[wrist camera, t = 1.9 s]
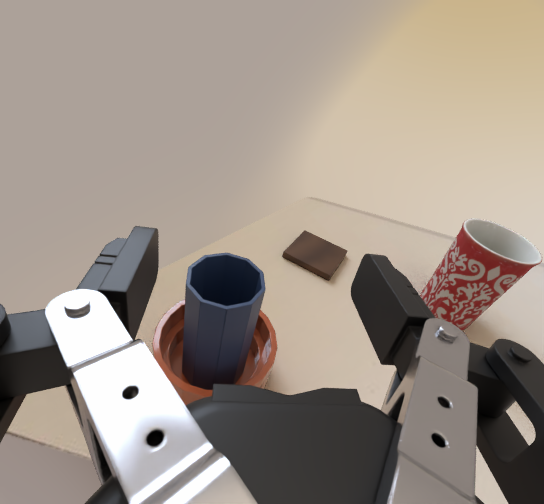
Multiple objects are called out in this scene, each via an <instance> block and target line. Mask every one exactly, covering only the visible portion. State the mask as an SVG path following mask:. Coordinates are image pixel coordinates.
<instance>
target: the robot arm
mask: <svg viewBox="0 0 544 504" xmlns="http://www.w3.org/2000/svg"><path fill="white" fill-rule="evenodd" d="M157 274H158V229H156V228H149V227H140V226H135V227H134V229H133V230H132V232H131V233H130V235H129V237H128V238H127V239H124V238H117V239H115V240H113V241H112V242H110V243H108V244H107V245H106V246H105V247H104V249H103V250H102V252H101V253H100V256H98V258H97V259H96V261H95V263H94V264H93V265H92V266H91V268H90V269H89V271H88V272H87V274H86V275H85V277H84V278H83V280H82V281H81V283H80V284H79V286H78V287H77V288H76V290H73V291H69V292H66V293H64V294H61V295H59V296H57V297H56V298H54V299H53V300H52V301H51V302H50V303H49V304H48V306H47V308H46V309H43V310H37V311H30V312H23V313H16V314H8V315H7V314H6V311H5V308H4V307H3V306H2V305H1V304H0V442H1V441H2V439H3V437H4V435H5V433H6V431H7V430H8V428H9V426H10V424H11V422H12V420H13V418H14V417H15V415H16V413H17V411H18V409H19V407H20V406H21V404H22V402H23V400H24V398H25V396H26V394H29V393H33V392H38V391H42V390H46V389H51V388H55V387H60V386H65V388H66V391H67V393H68V396H69V399H70V401H71V404H72V406H73V409H74V411H75V414H76V416H77V419H78V421H79V424H80V427H81V429H82V432H83V434H84V437H85V440H86V443H87V446H88V449H89V452H90V455H91V458H92V461H93V464H94V466H95V469H96V472H97V474H98V477H99V480H100V482H101V485H102V486H101V487H100V488H99V489H98V490H97V491H96V492H95V493H94V494H93V495H92V496H91V497H90V498H89V499H88V501H87V502H86V503H85V504H484V503H483V502H482V501H481V500H480V499H479V498H478V497H477V496H476V495H475V470H476V445H477V447H478V449H479V450H480V452H481V454H482V456H483V458H484V460H485V461H486V463H487V465H488V467H489V469H490V471H491V472H492V474H493V476H494V478H495V480H496V482H497V483H498V485H499V487H500V489H501V491H502V493H503V494H504V496H505V498H506V500H507V502H508V504H544V364H543V363H542V362H541V361H540V360H539V359H538V358H537V357H536V356H535V355H534V354H533V353H532V352H531V351H529V350H528V349H527V348H525V347H523V346H522V345H520V344H518V343H516V342H513V341H510V340H506V339H498V340H496V341H495V342H494V344H493V345H492V346H491V347H490V349H489V348H486V347H483V346H480V345H476V344H473V343H470V342H469V339H468V337H467V336H466V335H465V333H464V332H463V331H462V330H460V329H459V328H458V327H457V326H455V325H454V324H452V323H450V322H448V321H446V320H443V319H439V318H436V317H435V316H434V315H433V313H432V312H431V310H430V309H429V308H428V306H427V305H426V304H425V302H424V301H423V299H422V298H421V297H420V295H418V293H417V291H416V290H415V288H413V286H412V284H411V283H410V281H409V280H408V279H407V277H405V276H404V275H403V274H402V273H400V272H399V271H398V270H397V269H395V268H394V267H393V265H392V264H391V262H390V261H389V260H388V258H387V257H386V256H383V255H375V254H365V255H364V257H363V258H362V261H361V263H360V266H359V268H358V271H357V273H356V276H355V278H354V280H353V283H352V286H351V297H352V300H353V302H354V304H355V307H356V309H357V311H358V313H359V316H360V318H361V320H362V322H363V325H364V327H365V329H366V331H367V334H368V336H369V338H370V340H371V342H372V345H373V347H374V349H375V351H376V354H377V356H378V358H379V360H380V363H381V364H382V365H395V366H396V368H397V369H396V371H395V372H394V374H393V376H392V379H391V382H390V385H389V388H388V391H387V393H386V396H385V399H384V402H383V405H382V408H381V410H379V409H377V408H375V407H373V406H371V405H369V404H366V403H364V402H361V400H360V397H359V394H358V392H357V389H339V388H321V389H317V390H313V391H308V392H304V393H300V394H295V395H284V394H281V393H277V392H273V391H270V390H266V389H263V388H259V387H255V386H252V385H232V384H213V391H212V396H209V397H205V398H202V399H199V400H196V401H194V402H192V403H189V404H187V405H185V404H184V403H183V401H182V400H181V398H180V397H179V395H178V394H177V392H176V391H175V389H174V388H173V386H172V384H171V383H170V381H169V380H168V378H167V377H166V375H165V374H164V372H163V371H162V369H161V368H160V366H159V365H158V363H157V362H156V360H155V358H154V357H153V355H152V354H151V352H150V351H149V349H148V348H147V346H146V345H145V343H144V342H143V341H142V340H141V339H137V340H135V337H136V334H137V332H138V329H139V326H140V323H141V321H142V318H143V315H144V312H145V309H146V307H147V304H148V301H149V298H150V296H151V293H152V290H153V287H154V285H155V282H156V279H157ZM515 401H516V402H517V403H518V404H519V406H520V407H521V408H522V410H523V411H524V413H525V414H526V415H527V417H528V418H529V419H530V421H531V422H532V424H533V426H534V428H535V432H536V438H535V440H534V442H533V443H532V444H531V445H530V446H529V445H528V444H527V442H526V441H525V439H524V438H523V436H522V435H521V433H520V432H519V430H518V429H517V427H516V426H515V424H514V423H513V421H512V420H511V419H510V417H509V416H508V414H507V413H506V410H507V409H508V408H509V407H510V406H511V405H512V404H513V403H514V402H515Z"/></svg>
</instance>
